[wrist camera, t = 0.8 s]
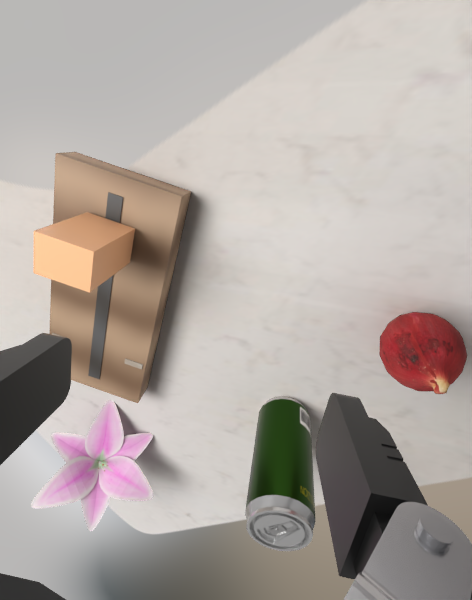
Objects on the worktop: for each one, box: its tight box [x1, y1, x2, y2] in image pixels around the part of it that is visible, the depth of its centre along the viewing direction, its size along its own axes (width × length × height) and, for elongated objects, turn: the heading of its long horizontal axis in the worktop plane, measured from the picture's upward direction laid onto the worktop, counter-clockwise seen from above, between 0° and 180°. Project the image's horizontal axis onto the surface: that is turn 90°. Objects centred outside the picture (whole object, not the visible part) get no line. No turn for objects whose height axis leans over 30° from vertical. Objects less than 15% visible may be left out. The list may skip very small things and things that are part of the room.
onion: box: [380, 312, 467, 394], centre depth 25 cm, size 6×6×8 cm
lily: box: [31, 400, 153, 531], centre depth 38 cm, size 12×12×10 cm
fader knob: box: [34, 212, 135, 293], centre depth 24 cm, size 3×4×6 cm
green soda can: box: [245, 396, 315, 551], centre depth 30 cm, size 5×5×12 cm
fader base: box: [50, 152, 191, 403], centre depth 31 cm, size 22×10×3 cm, turn 163°
